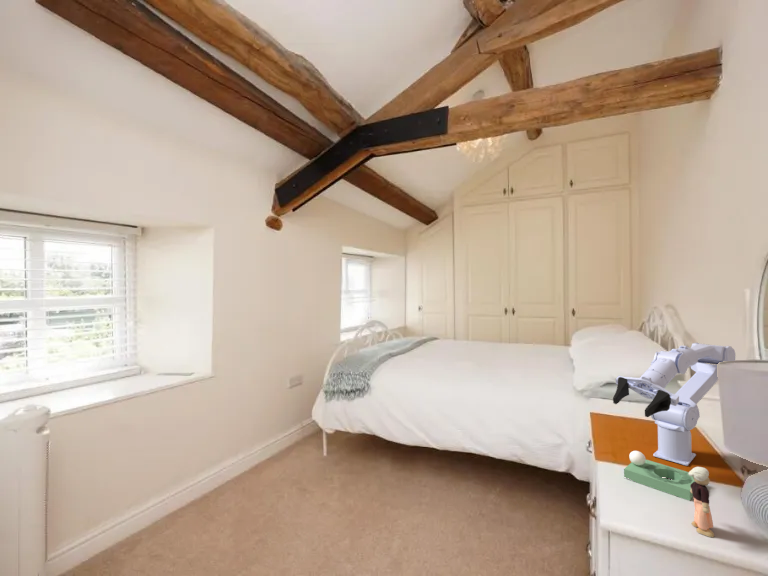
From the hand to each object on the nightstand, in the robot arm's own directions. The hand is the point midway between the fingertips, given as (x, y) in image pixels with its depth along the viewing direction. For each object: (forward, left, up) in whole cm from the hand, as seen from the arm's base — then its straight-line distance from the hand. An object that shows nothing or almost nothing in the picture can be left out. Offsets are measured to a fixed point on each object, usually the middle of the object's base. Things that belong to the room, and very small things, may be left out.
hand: (629, 407), depth 97 cm
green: (-3, +5, -18) cm, 19 cm away
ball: (-3, +1, -14) cm, 14 cm away
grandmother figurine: (+12, +17, -19) cm, 28 cm away
